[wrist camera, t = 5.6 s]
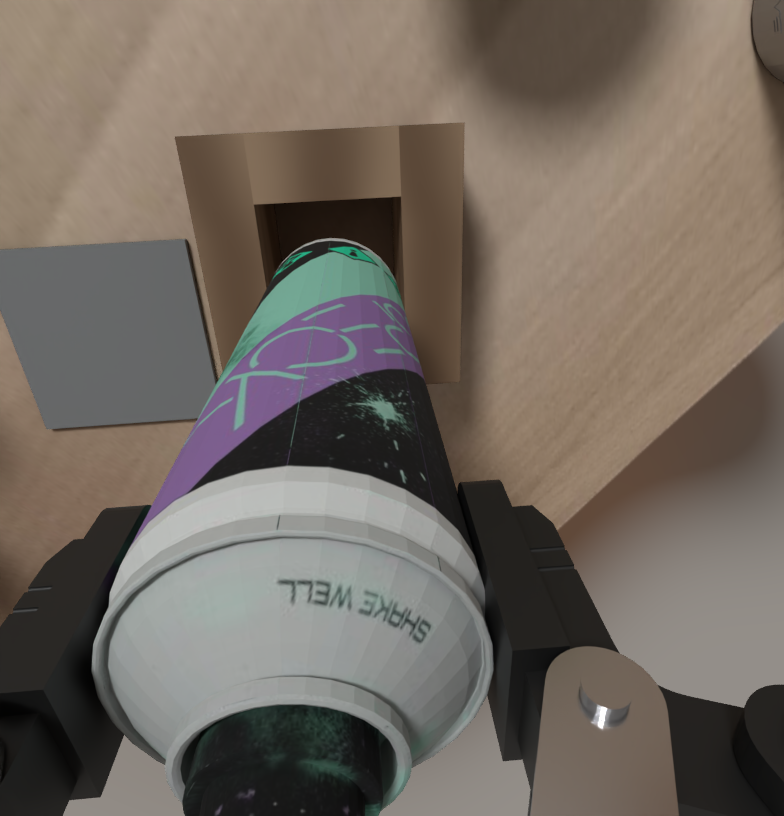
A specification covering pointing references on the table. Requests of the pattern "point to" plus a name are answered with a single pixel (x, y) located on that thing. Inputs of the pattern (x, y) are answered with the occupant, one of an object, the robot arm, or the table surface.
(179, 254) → the mat
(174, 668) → the spray can
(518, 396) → the table surface
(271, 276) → the holder
